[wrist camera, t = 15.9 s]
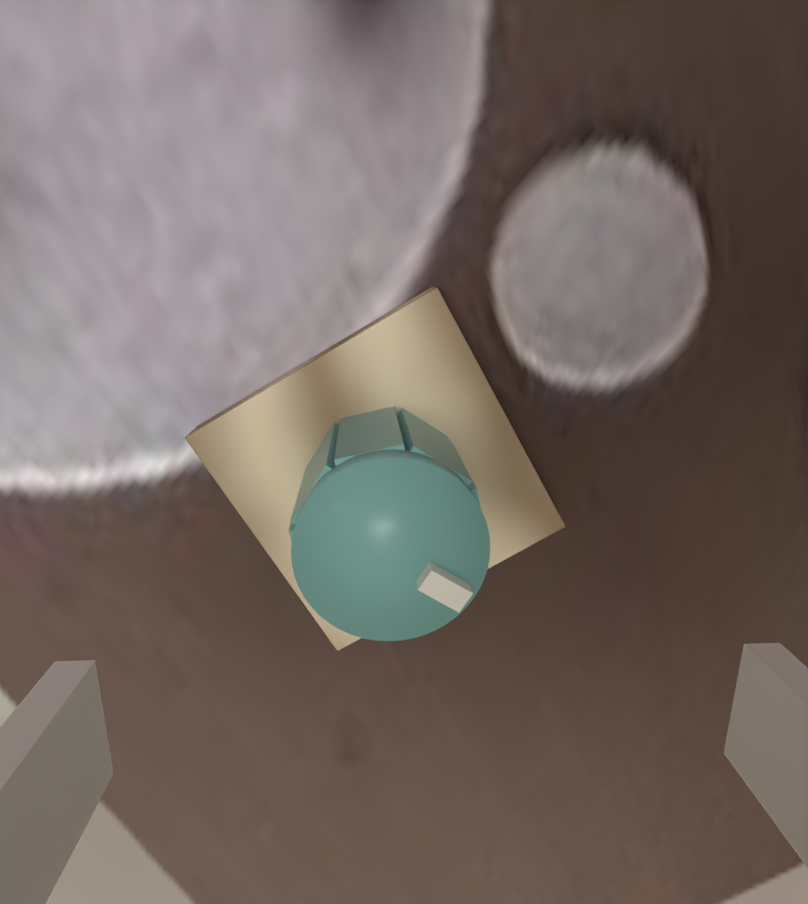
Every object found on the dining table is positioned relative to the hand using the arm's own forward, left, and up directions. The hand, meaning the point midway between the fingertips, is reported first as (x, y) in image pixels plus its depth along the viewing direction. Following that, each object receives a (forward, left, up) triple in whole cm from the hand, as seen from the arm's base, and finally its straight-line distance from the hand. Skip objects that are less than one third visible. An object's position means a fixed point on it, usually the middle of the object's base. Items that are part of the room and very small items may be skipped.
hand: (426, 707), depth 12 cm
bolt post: (0, 0, -16) cm, 16 cm away
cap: (0, 0, -14) cm, 14 cm away
